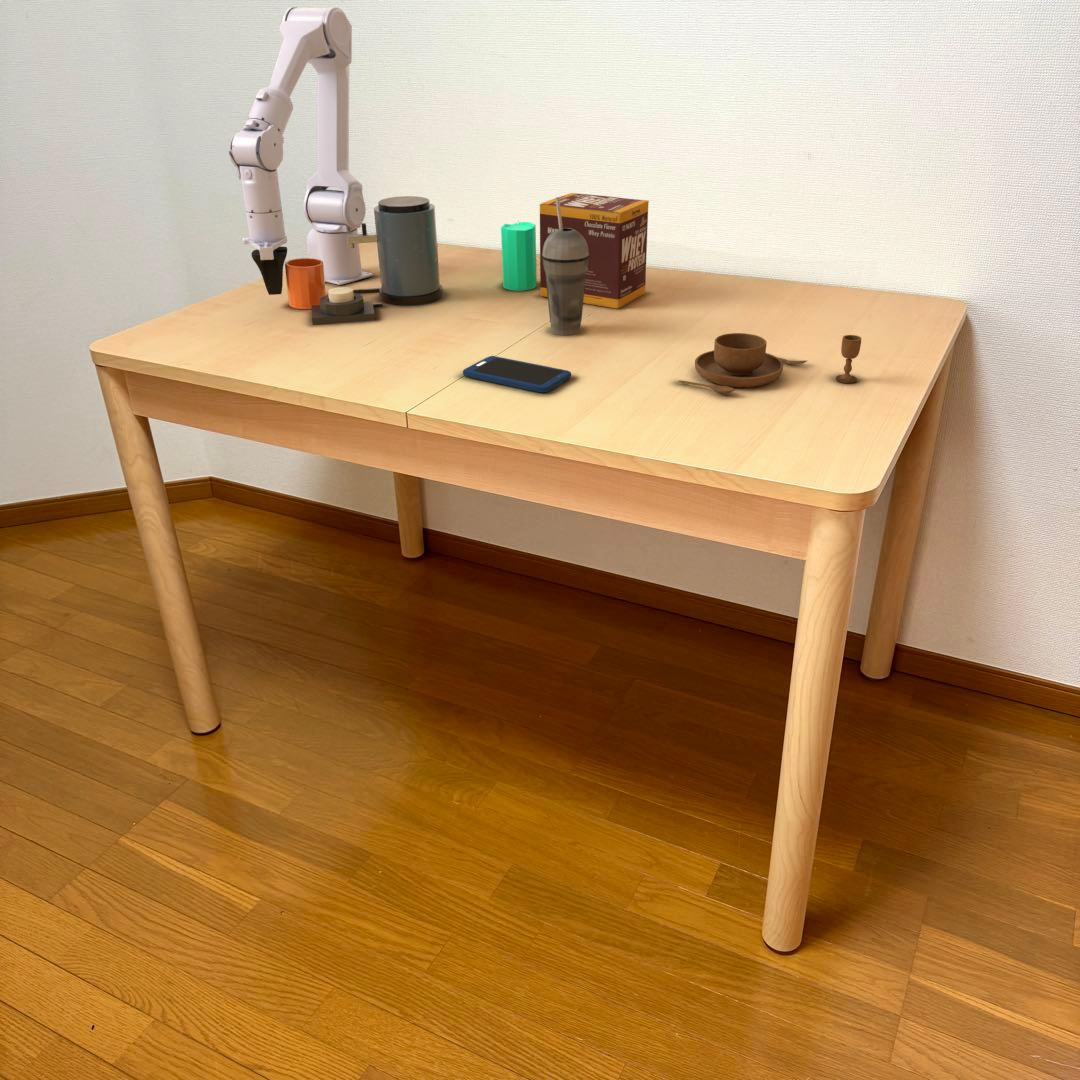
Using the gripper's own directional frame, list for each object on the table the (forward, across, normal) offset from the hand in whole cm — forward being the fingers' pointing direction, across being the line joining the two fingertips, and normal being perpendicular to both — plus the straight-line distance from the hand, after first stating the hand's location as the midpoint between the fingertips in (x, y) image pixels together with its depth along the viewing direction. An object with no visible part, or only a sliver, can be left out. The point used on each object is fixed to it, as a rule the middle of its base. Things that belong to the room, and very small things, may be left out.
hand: (275, 293), depth 171 cm
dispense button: (0, +8, +11) cm, 14 cm away
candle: (+2, -2, +42) cm, 42 cm away
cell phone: (+2, +42, +34) cm, 54 cm away
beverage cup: (+2, +24, +45) cm, 51 cm away
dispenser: (+2, 0, +18) cm, 19 cm away
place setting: (+2, +51, +67) cm, 84 cm away
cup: (+2, 0, +5) cm, 6 cm away
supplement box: (+2, +6, +53) cm, 54 cm away
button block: (+2, +8, +11) cm, 14 cm away
